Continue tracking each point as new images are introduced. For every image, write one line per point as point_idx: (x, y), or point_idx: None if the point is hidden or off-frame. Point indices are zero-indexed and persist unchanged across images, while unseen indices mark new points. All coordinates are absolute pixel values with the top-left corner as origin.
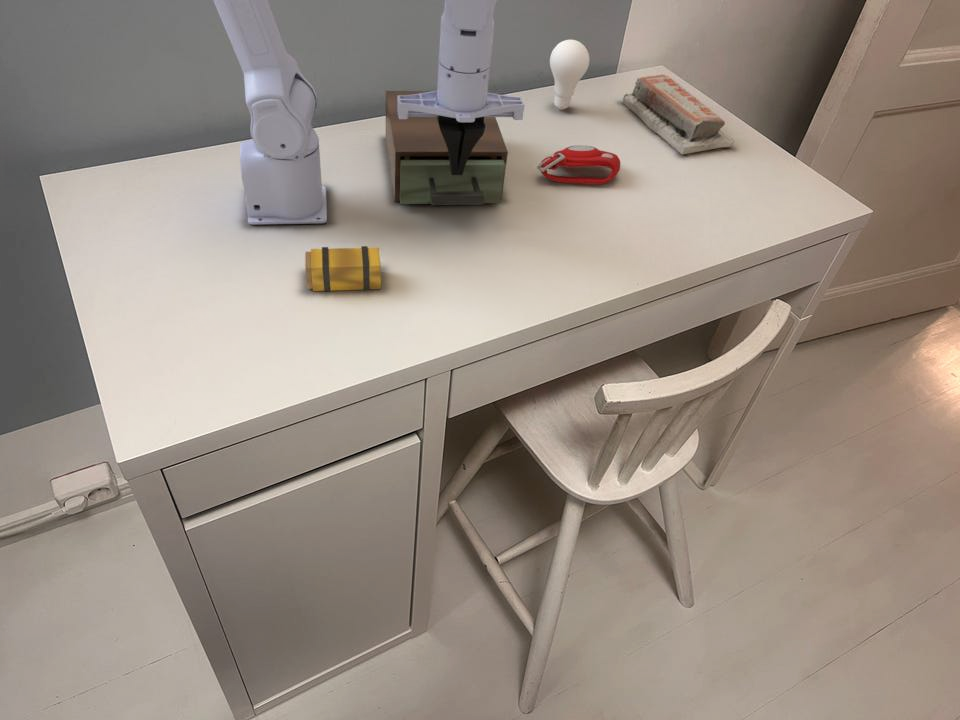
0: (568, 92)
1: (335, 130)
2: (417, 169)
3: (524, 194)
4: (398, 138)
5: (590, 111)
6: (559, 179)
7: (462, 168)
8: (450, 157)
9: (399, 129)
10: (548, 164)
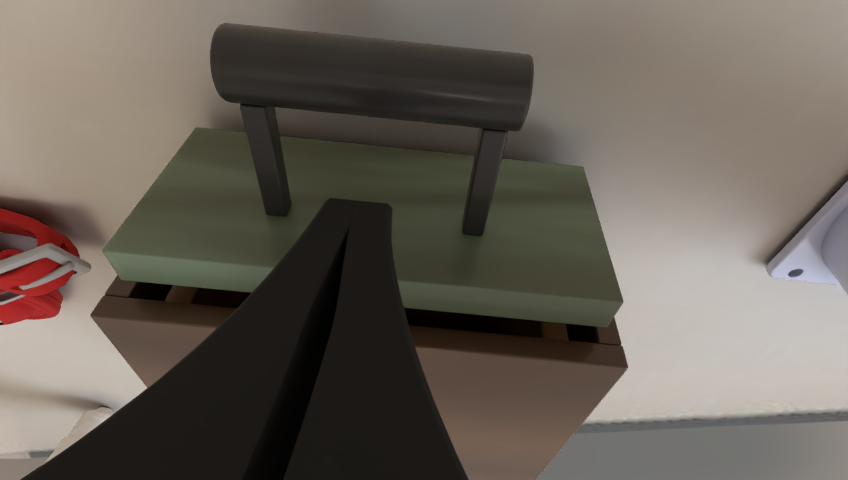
0: (65, 448)
1: (594, 412)
2: (541, 274)
3: (124, 174)
4: (568, 415)
5: (40, 398)
6: (4, 216)
7: (319, 224)
8: (398, 297)
9: (539, 441)
10: (22, 266)
